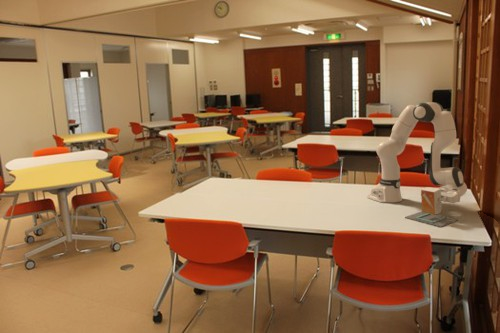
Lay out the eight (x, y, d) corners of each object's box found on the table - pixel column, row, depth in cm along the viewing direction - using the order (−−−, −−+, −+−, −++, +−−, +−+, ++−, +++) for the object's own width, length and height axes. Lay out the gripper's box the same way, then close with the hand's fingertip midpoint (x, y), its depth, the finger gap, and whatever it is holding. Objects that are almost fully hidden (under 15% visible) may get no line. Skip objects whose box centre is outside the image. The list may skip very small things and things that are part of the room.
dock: (404, 218, 250) (404, 215, 250) (422, 212, 259) (422, 210, 259) (440, 227, 232) (440, 225, 232) (458, 220, 241) (458, 218, 241)
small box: (421, 212, 246) (420, 189, 243) (428, 209, 249) (427, 186, 247) (435, 215, 239) (434, 191, 237) (442, 211, 243) (441, 188, 240)
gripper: (429, 185, 258) (414, 189, 251) (462, 191, 241) (448, 196, 234) (429, 195, 259) (414, 200, 252) (462, 202, 243) (447, 207, 235)
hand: (430, 198), depth 243 cm, fingers closed on small box, 8 cm apart
